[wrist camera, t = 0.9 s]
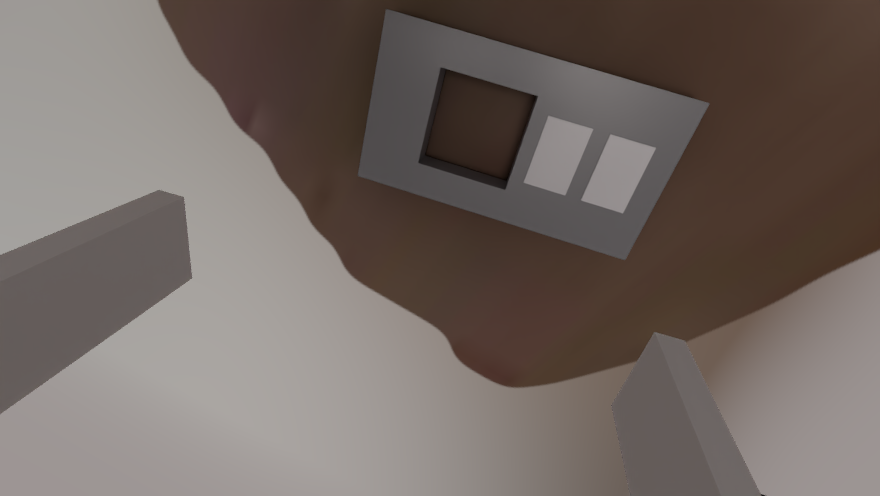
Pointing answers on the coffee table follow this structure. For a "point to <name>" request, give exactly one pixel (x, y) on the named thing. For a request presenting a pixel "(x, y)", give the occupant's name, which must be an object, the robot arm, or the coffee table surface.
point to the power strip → (529, 136)
